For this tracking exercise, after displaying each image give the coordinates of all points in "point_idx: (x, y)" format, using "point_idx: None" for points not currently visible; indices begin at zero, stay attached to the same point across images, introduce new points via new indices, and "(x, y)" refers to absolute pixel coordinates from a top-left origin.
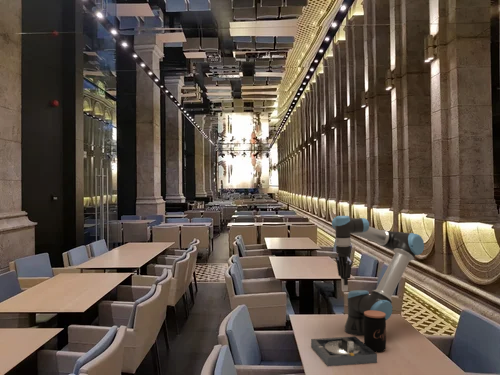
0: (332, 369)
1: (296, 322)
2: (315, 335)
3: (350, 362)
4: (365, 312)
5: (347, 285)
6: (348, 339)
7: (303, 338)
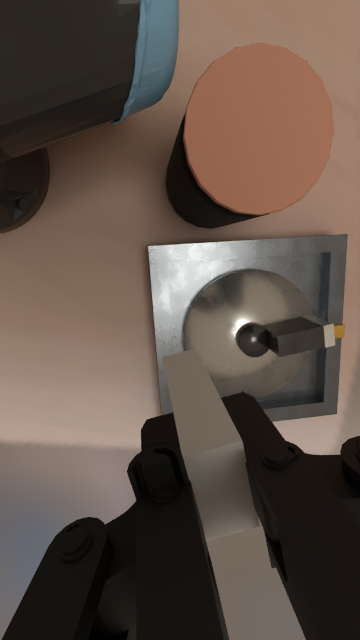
0: (342, 392)
1: None
2: (37, 379)
3: None
4: (233, 197)
5: (209, 379)
6: (300, 334)
7: (71, 430)
